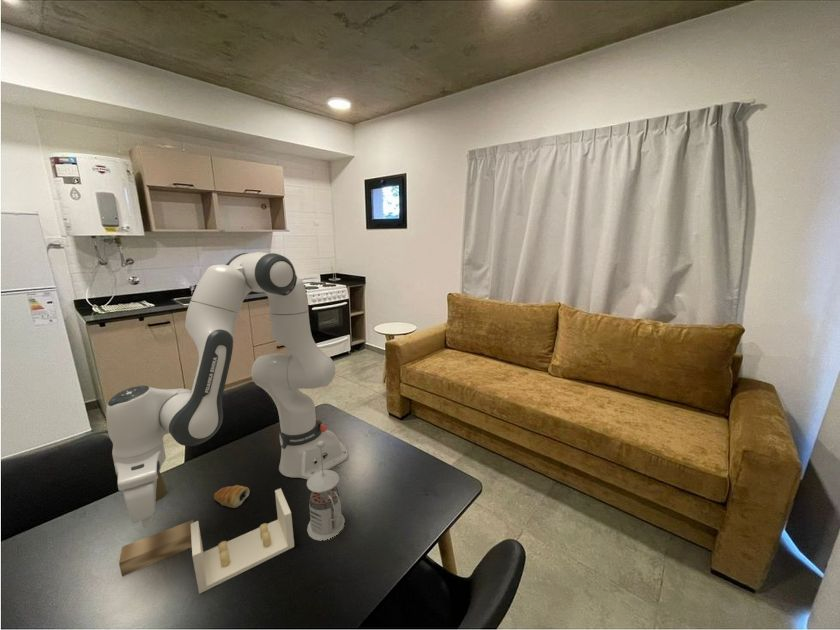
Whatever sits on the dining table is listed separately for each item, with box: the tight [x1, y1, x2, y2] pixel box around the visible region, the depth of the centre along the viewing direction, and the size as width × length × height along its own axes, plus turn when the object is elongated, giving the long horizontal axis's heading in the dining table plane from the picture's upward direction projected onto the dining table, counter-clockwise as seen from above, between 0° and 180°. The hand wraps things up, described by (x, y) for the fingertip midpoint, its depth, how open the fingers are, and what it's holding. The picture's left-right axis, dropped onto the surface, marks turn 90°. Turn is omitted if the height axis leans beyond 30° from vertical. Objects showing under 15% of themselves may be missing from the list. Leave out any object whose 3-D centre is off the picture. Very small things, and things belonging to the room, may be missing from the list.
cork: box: [155, 471, 168, 502], centre depth 99 cm, size 6×6×11 cm
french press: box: [306, 441, 346, 542], centre depth 87 cm, size 10×12×25 cm
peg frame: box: [191, 487, 295, 595], centre depth 82 cm, size 20×10×10 cm, turn 125°
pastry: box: [213, 484, 251, 509], centre depth 99 cm, size 9×7×4 cm
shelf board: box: [118, 519, 195, 577], centre depth 82 cm, size 14×5×4 cm, turn 124°
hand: (150, 511), depth 79 cm, fingers open, 8 cm apart
